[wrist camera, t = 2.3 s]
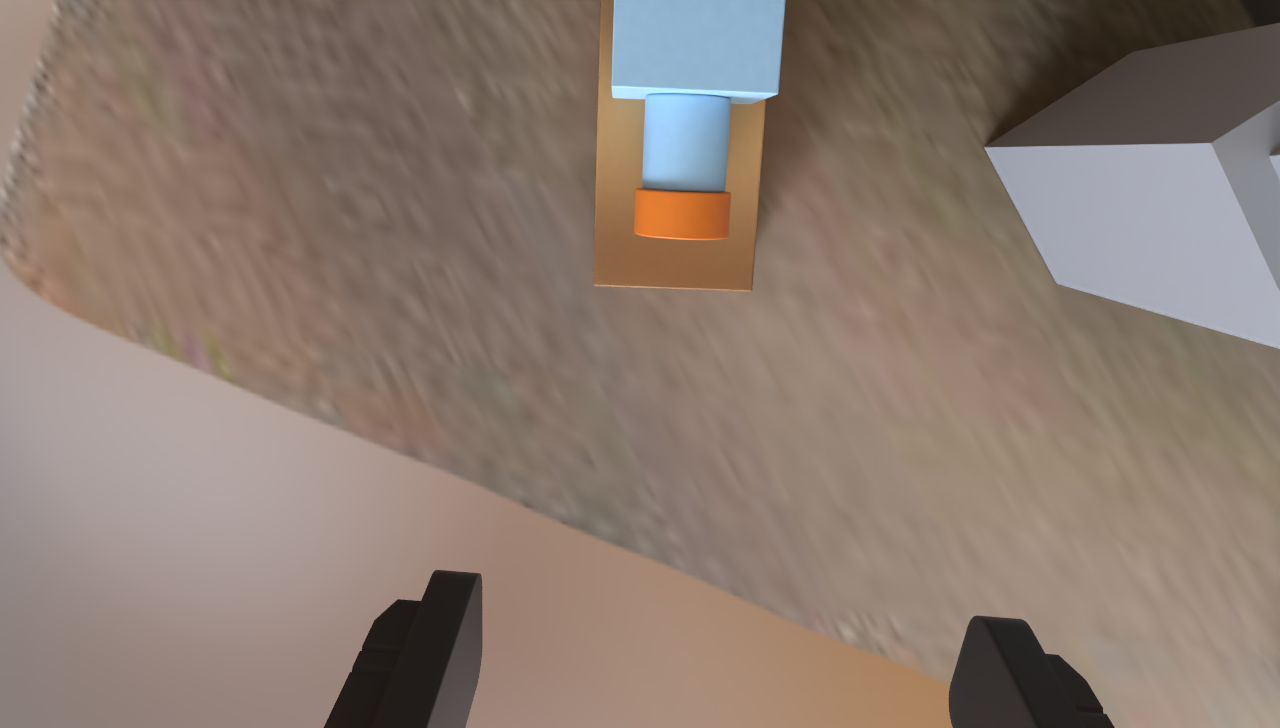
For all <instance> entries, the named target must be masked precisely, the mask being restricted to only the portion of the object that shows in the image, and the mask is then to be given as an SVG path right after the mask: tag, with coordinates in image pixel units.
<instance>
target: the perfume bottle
mask: <svg viewBox="0 0 1280 728" xmlns="http://www.w3.org/2000/svg"><path fill="white" fill-rule="evenodd" d="M984 148H985V150H986V152H987V154H988V156H989V158H990V160H991V162H992V163H993V165H994V167H995V169H996V171H997V173H998V175H999V177H1000V178H1001V180H1002V182H1003V184H1004V186H1005V188H1006V190H1007V192H1008V194H1009V195H1010V197H1011V199H1012V201H1013V203H1014V205H1015V207H1016V209H1017V210H1018V212H1019V214H1020V216H1021V218H1022V220H1023V222H1024V224H1025V225H1026V227H1027V229H1028V231H1029V233H1030V235H1031V237H1032V239H1033V240H1034V242H1035V244H1036V246H1037V248H1038V250H1039V252H1040V254H1041V255H1042V257H1043V259H1044V261H1045V263H1046V265H1047V267H1048V269H1049V271H1050V272H1051V274H1052V276H1053V278H1054V280H1055V282H1056V284H1060V285H1063V286H1067V287H1070V288H1074V289H1077V290H1080V291H1084V292H1087V293H1091V294H1094V295H1097V296H1101V297H1104V298H1108V299H1111V300H1115V301H1118V302H1121V303H1125V304H1128V305H1132V306H1135V307H1138V308H1142V309H1145V310H1149V311H1152V312H1155V313H1159V314H1162V315H1166V316H1169V317H1173V318H1176V319H1179V320H1183V321H1186V322H1190V323H1193V324H1196V325H1200V326H1203V327H1207V328H1210V329H1214V330H1217V331H1220V332H1224V333H1227V334H1231V335H1234V336H1237V337H1241V338H1244V339H1248V340H1251V341H1254V342H1258V343H1261V344H1265V345H1268V346H1272V347H1275V348H1278V349H1280V23H1276V24H1271V25H1266V26H1261V27H1256V28H1251V29H1246V30H1241V31H1236V32H1231V33H1226V34H1221V35H1216V36H1211V37H1205V38H1200V39H1195V40H1190V41H1185V42H1180V43H1175V44H1170V45H1165V46H1160V47H1155V48H1150V49H1145V50H1140V51H1135V52H1131V53H1130V54H1128V55H1127V56H1125V57H1123V58H1122V59H1120V60H1119V61H1117V62H1116V63H1114V64H1113V65H1111V66H1110V67H1108V68H1106V69H1105V70H1103V71H1102V72H1100V73H1099V74H1097V75H1096V76H1094V77H1092V78H1091V79H1089V80H1088V81H1086V82H1085V83H1083V84H1082V85H1080V86H1078V87H1077V88H1075V89H1074V90H1072V91H1071V92H1069V93H1068V94H1066V95H1065V96H1063V97H1061V98H1060V99H1058V100H1057V101H1055V102H1054V103H1052V104H1051V105H1049V106H1047V107H1046V108H1044V109H1043V110H1041V111H1040V112H1038V113H1037V114H1035V115H1033V116H1032V117H1030V118H1029V119H1027V120H1026V121H1024V122H1023V123H1021V124H1020V125H1018V126H1016V127H1015V128H1013V129H1012V130H1010V131H1009V132H1007V133H1006V134H1004V135H1002V136H1001V137H999V138H998V139H996V140H995V141H993V142H992V143H990V144H988V145H987V146H985V147H984Z"/></svg>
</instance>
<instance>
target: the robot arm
mask: <svg viewBox="0 0 1280 728" xmlns="http://www.w3.org/2000/svg"><path fill="white" fill-rule="evenodd" d="M481 657H482V578H481V574H479V573H468V572H456V571H444V570H443V571H442V570H435V571H434V572H433V574H432V576H431V578H430V581H429V583H428V586H427V588H426V591H425V593H424V596H423V598H422V600H421V601H412V600H397V601H396V602H395V603H393V604H392V605H391V606H390V607H389V608H388V609H387V610H386V611H384V612H383V613H382V614H381V615H380V616H379V617H378V618H377V619H376V620H374V623H373V625H372V627H371V629H370V631H369V633H368V635H367V637H366V640H365V642H364V644H363V646H362V651H360V652H359V654H358V656H357V659H356V661H355V663H354V665H353V669H352V672H350V673H349V675H348V678H347V680H346V682H345V684H344V686H343V688H342V690H341V692H340V695H339V697H338V699H337V701H336V703H335V705H334V707H333V709H332V712H331V714H330V716H329V718H328V720H327V722H326V724H325V726H324V728H465V726H466V723H467V719H468V715H469V712H470V708H471V705H472V701H473V697H474V694H475V691H476V687H477V683H478V678H479V673H480V666H481ZM949 712H950V719H951V723H952V726H953V728H1114V726H1113V724H1112V723H1111V721H1110V719H1109V718H1108V716H1107V714H1103V708H1102V706H1101V704H1100V703H1099V701H1098V699H1097V698H1096V696H1095V694H1094V693H1093V691H1092V689H1091V688H1090V686H1089V684H1088V683H1087V681H1086V680H1085V679H1084V678H1083V677H1082V676H1081V675H1080V674H1079V673H1077V672H1076V671H1075V670H1074V669H1073V668H1072V667H1071V666H1070V665H1069V664H1068V663H1067V662H1065V661H1064V660H1063V659H1062V658H1061V657H1060V656H1059V655H1052V654H1045V653H1044V651H1043V649H1042V647H1041V645H1040V644H1039V642H1038V640H1037V638H1036V637H1035V635H1034V633H1033V631H1032V630H1031V628H1030V626H1029V625H1028V623H1027V622H1026V621H1024V620H1022V619H1012V618H1000V617H988V616H974V617H973V618H972V619H971V621H970V622H969V625H968V628H967V631H966V635H965V638H964V641H963V645H962V648H961V651H960V655H959V658H958V661H957V665H956V668H955V671H954V675H953V678H952V681H951V685H950V690H949Z"/></svg>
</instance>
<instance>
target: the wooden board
mask: <svg viewBox="0 0 1280 728" xmlns="http://www.w3.org/2000/svg"><path fill="white" fill-rule="evenodd" d="M613 18H614V0H601V12H600V49H599V85H598V121H597V158H596V194H595V230H594V267H593V285H594V286H606V287H633V288H661V289H688V290H716V291H743V292H750V291H752V285H753V271H754V258H755V244H756V231H757V217H758V204H759V190H760V177H761V163H762V150H763V136H764V123H765V109H766V99H764V100H761V101H758V102H755V103H753V104H736V103H731V111H730V126H729V142H728V157H727V173H726V188H725V191H726V192H730V193H731V204H730V219H729V234H728V237H727V238H725V239H718V240H680V239H665V238H654V237H646V236H641V235H637V234H635V233H634V220H635V195H636V189H637V188H643V187H642V169H643V145H644V120H645V99H624V98H613V97H612V86H611V83H612V50H613Z"/></svg>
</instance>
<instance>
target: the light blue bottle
mask: <svg viewBox="0 0 1280 728" xmlns="http://www.w3.org/2000/svg"><path fill="white" fill-rule="evenodd" d="M785 1H786V0H614V18H613V50H612V83H611V86H612V97H613V98H624V99H645V120H644V145H643V169H642V187H643V188H637V189H636V195H635V220H634V233H635V234H637V235H641V236H646V237H654V238H665V239H680V240H718V239H725V238H727V237H728V234H729V219H730V204H731V193H730V192H726V191H725V188H726V173H727V157H728V142H729V126H730V111H731V103H736V104H753V103H755V102H758V101H761V100H764V99H766V98H769V97H772V96H774V95H777V94H778V91H779V78H780V66H781V53H782V40H783V27H784V14H785Z"/></svg>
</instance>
